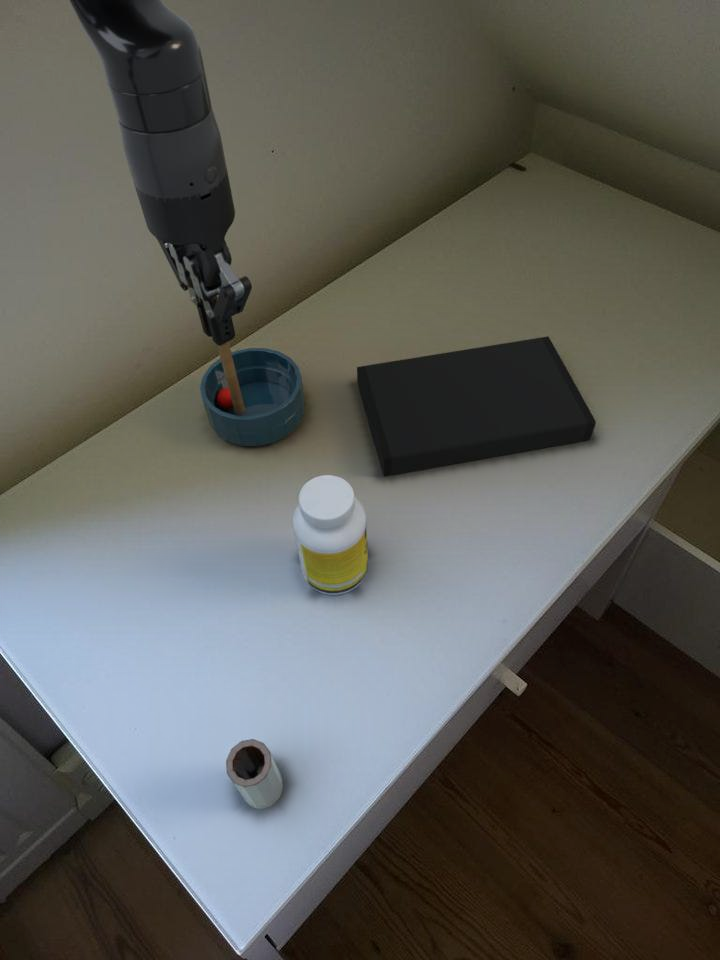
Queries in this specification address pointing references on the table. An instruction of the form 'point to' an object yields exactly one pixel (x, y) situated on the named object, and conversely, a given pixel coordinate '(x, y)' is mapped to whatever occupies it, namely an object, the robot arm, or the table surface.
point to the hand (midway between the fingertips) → (220, 335)
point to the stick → (231, 376)
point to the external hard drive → (471, 405)
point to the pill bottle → (331, 535)
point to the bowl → (256, 397)
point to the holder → (254, 773)
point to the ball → (224, 399)
